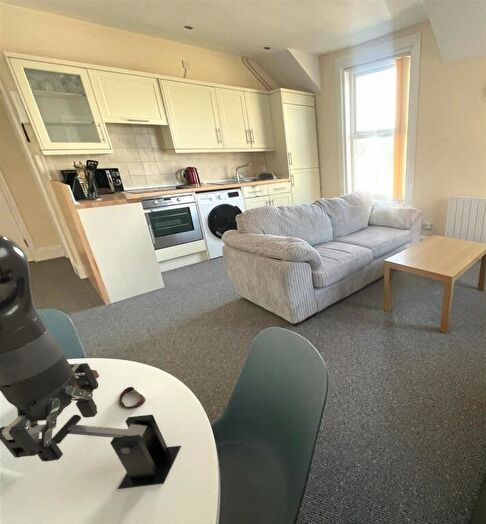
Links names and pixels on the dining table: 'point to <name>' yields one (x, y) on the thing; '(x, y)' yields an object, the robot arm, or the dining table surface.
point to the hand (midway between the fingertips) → (74, 435)
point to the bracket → (144, 454)
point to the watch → (130, 391)
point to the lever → (97, 430)
